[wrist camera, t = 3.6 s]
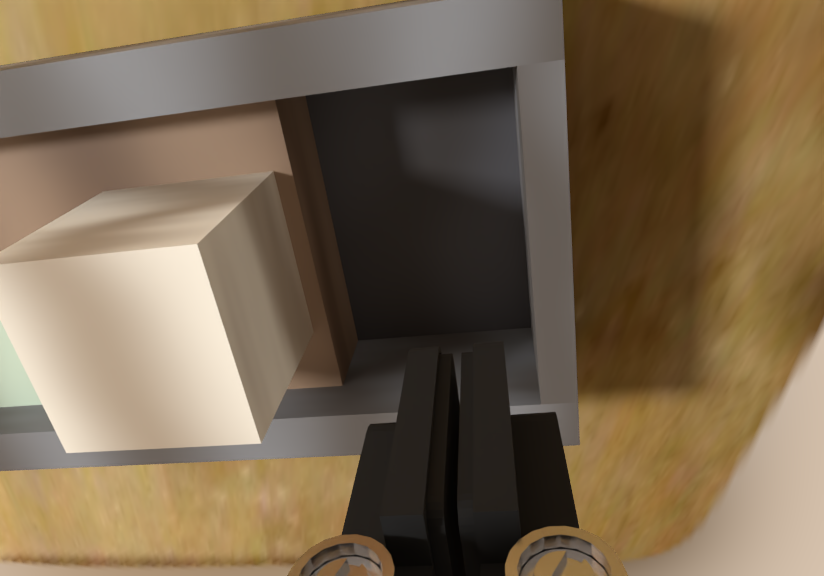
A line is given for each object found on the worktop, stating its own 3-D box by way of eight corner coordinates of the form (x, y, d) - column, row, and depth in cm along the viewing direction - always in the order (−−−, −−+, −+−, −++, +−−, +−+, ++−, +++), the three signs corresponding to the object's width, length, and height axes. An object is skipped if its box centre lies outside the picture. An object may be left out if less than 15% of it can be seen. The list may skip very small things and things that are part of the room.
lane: (543, -22, 17) (570, -17, 11) (562, 357, 22) (587, 483, 17) (-256, 106, 21) (-511, 153, 15) (-80, 400, 26) (-225, 511, 21)
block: (273, 171, 17) (196, 244, 12) (313, 332, 19) (261, 443, 14) (103, 191, 18) (-27, 266, 13) (160, 344, 20) (65, 453, 15)
